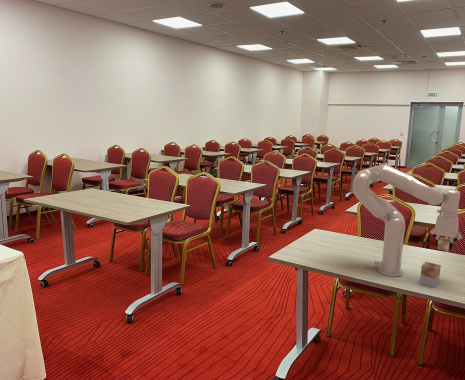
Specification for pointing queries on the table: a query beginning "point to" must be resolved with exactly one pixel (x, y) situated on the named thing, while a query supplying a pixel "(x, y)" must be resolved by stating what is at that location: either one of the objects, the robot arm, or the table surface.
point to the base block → (429, 281)
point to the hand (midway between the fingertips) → (443, 248)
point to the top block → (430, 270)
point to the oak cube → (443, 244)
